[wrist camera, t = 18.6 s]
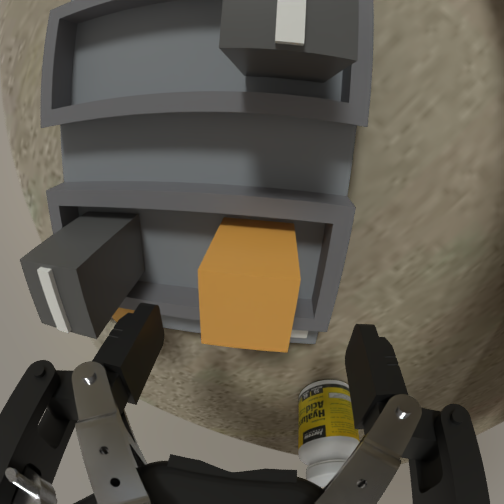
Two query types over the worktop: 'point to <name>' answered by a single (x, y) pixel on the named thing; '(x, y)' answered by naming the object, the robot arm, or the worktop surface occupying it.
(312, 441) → the supplement bottle
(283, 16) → the knob
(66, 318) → the knob tagged
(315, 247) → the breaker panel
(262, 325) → the block
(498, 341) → the worktop surface
